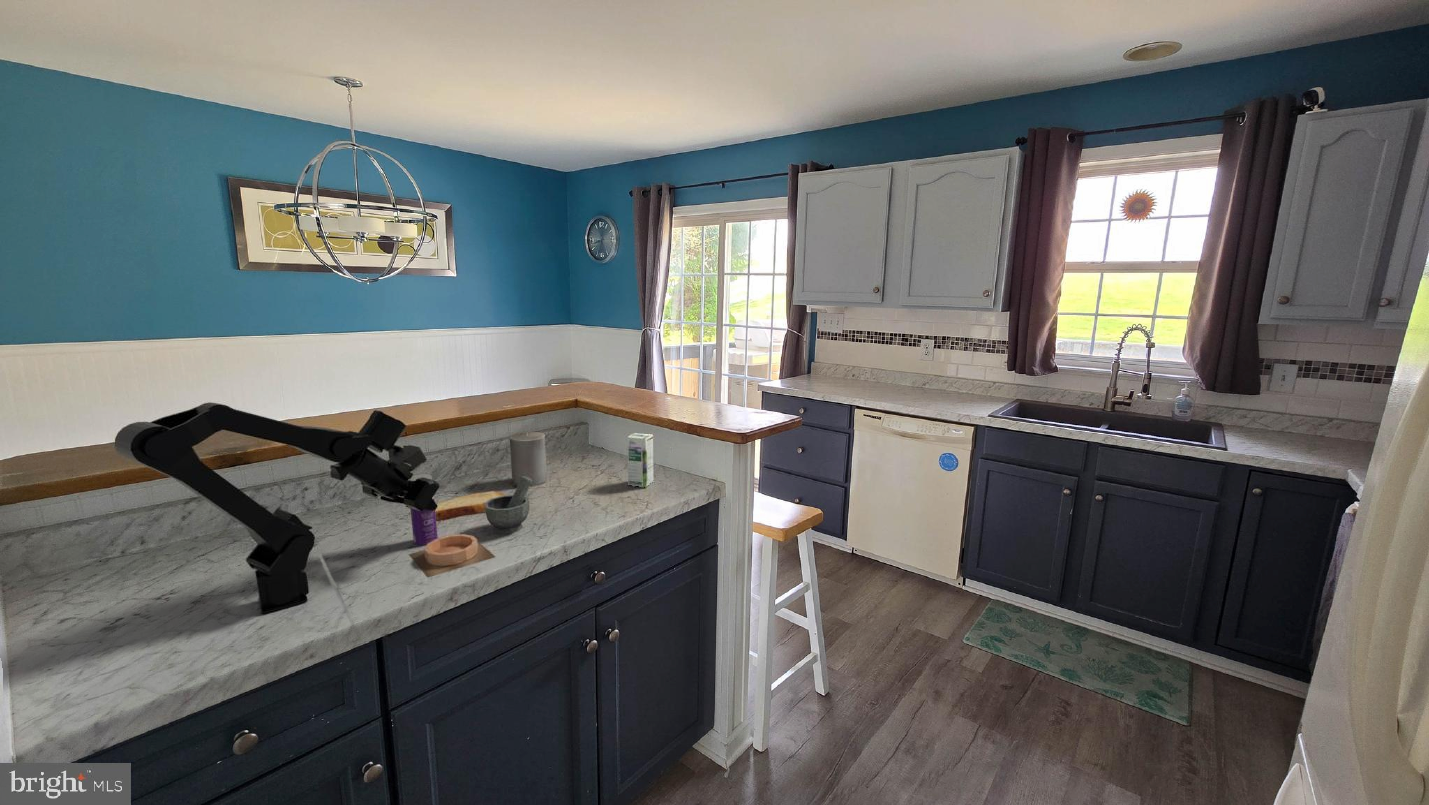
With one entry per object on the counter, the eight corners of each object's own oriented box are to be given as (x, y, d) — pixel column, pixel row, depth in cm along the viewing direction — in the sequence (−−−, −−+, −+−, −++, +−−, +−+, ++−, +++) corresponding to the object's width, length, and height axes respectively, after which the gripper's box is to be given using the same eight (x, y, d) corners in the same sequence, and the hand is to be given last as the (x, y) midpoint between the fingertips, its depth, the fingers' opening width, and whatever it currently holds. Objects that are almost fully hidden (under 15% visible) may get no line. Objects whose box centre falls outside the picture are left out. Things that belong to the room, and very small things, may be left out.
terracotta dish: (434, 571, 111) (433, 559, 111) (420, 554, 118) (419, 543, 118) (484, 556, 118) (483, 545, 117) (467, 541, 125) (467, 530, 124)
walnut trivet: (428, 579, 109) (427, 577, 109) (409, 556, 119) (409, 554, 118) (495, 559, 118) (495, 556, 117) (473, 539, 127) (473, 537, 127)
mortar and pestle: (496, 543, 125) (492, 490, 123) (479, 530, 132) (475, 480, 130) (543, 529, 133) (541, 479, 131) (525, 517, 139) (522, 470, 137)
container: (428, 548, 122) (421, 481, 119) (409, 546, 123) (402, 480, 120) (442, 539, 127) (436, 474, 124) (424, 537, 128) (417, 473, 125)
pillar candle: (512, 477, 169) (509, 428, 166) (547, 474, 172) (544, 426, 169) (511, 488, 160) (508, 437, 157) (548, 485, 163) (545, 434, 160)
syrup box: (627, 486, 162) (626, 436, 160) (636, 480, 168) (635, 431, 165) (646, 488, 161) (645, 438, 158) (654, 481, 166) (653, 433, 164)
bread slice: (412, 522, 137) (411, 507, 137) (461, 496, 155) (460, 483, 154) (478, 529, 133) (477, 514, 133) (521, 502, 150) (520, 489, 150)
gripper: (426, 442, 112) (477, 480, 124) (370, 431, 121) (423, 467, 133) (391, 492, 107) (448, 527, 119) (335, 476, 116) (394, 510, 127)
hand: (428, 506), depth 124 cm, fingers closed on container, 5 cm apart
